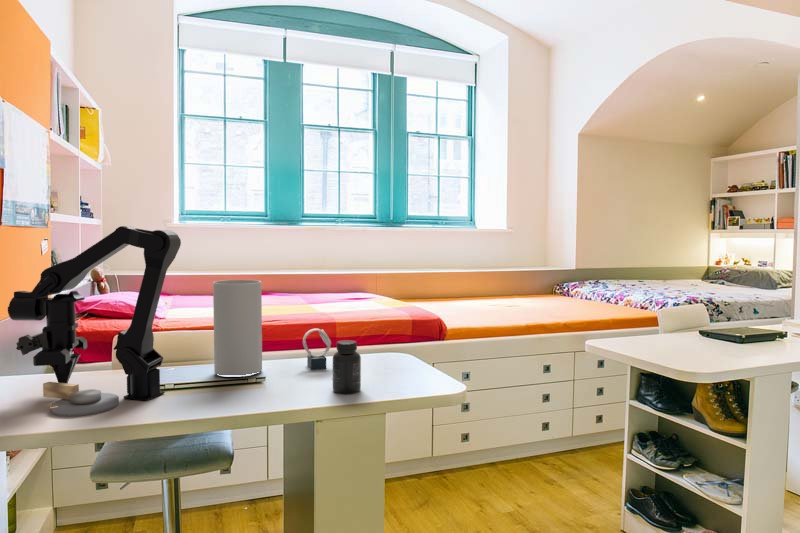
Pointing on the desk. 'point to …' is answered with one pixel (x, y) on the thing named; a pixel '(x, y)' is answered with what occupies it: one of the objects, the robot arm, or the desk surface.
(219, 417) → the desk surface
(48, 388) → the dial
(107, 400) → the dial plate
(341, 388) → the supplement bottle
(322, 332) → the watch
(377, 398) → the desk surface
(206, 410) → the desk surface
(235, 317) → the cylinder vase
